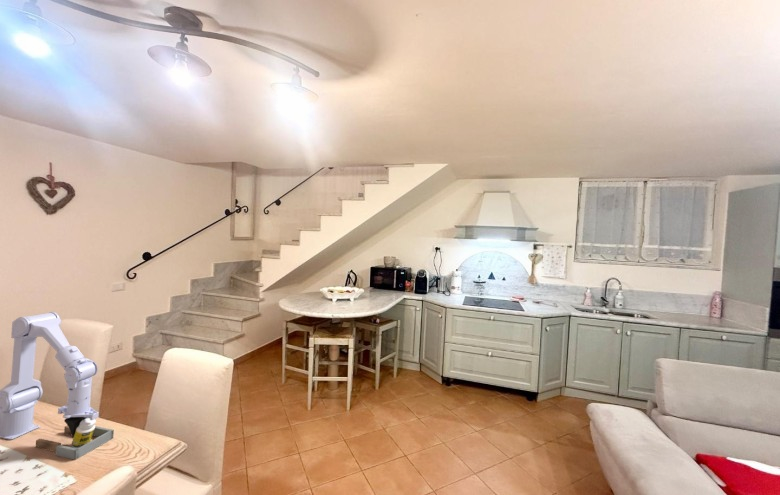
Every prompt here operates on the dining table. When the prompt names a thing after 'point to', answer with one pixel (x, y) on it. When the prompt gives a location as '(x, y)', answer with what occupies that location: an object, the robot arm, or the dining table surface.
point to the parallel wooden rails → (50, 442)
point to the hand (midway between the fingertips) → (76, 436)
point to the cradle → (74, 453)
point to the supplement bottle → (83, 433)
